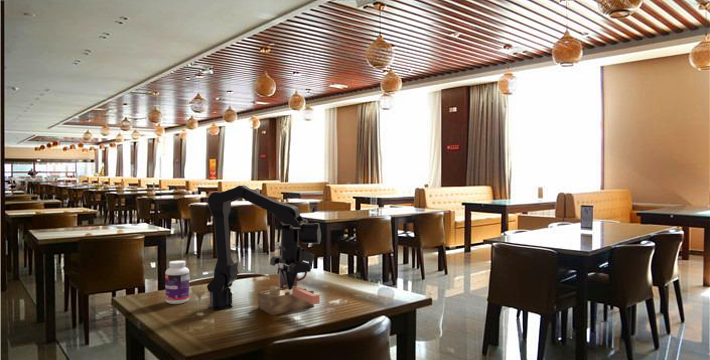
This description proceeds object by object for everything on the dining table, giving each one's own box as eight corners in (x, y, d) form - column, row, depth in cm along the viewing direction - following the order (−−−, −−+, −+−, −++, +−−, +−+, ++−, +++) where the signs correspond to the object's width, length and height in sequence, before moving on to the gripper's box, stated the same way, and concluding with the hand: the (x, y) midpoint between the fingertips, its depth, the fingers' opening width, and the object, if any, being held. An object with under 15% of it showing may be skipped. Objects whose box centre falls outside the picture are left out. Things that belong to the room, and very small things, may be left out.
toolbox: (271, 315, 156) (270, 295, 156) (258, 308, 164) (258, 289, 164) (313, 306, 165) (313, 288, 165) (299, 300, 173) (299, 283, 173)
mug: (274, 291, 187) (274, 265, 187) (280, 286, 196) (280, 260, 195) (305, 292, 186) (304, 265, 186) (309, 286, 194) (309, 261, 194)
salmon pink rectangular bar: (312, 304, 147) (312, 296, 147) (291, 295, 159) (291, 287, 159) (319, 303, 149) (319, 294, 149) (298, 294, 160) (297, 286, 160)
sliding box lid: (272, 300, 158) (272, 290, 158) (263, 295, 164) (263, 286, 164) (310, 293, 166) (310, 284, 166) (300, 289, 172) (300, 280, 172)
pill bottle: (160, 303, 171) (160, 262, 171) (178, 297, 178) (177, 259, 178) (176, 305, 167) (176, 264, 167) (194, 300, 175) (193, 260, 174)
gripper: (324, 244, 158) (324, 291, 159) (298, 238, 174) (298, 281, 174) (294, 247, 152) (294, 296, 152) (269, 240, 167) (269, 285, 168)
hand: (289, 289), depth 162 cm, fingers closed
